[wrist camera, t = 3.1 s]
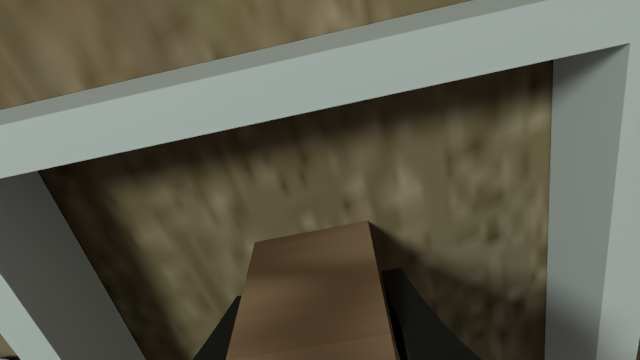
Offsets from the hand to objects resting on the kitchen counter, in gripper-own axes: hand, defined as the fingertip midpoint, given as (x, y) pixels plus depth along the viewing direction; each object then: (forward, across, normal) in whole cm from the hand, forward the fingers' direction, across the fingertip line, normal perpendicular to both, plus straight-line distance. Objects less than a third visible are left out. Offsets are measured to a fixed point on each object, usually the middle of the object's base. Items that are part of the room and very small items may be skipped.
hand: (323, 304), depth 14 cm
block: (+2, 0, 0) cm, 2 cm away
